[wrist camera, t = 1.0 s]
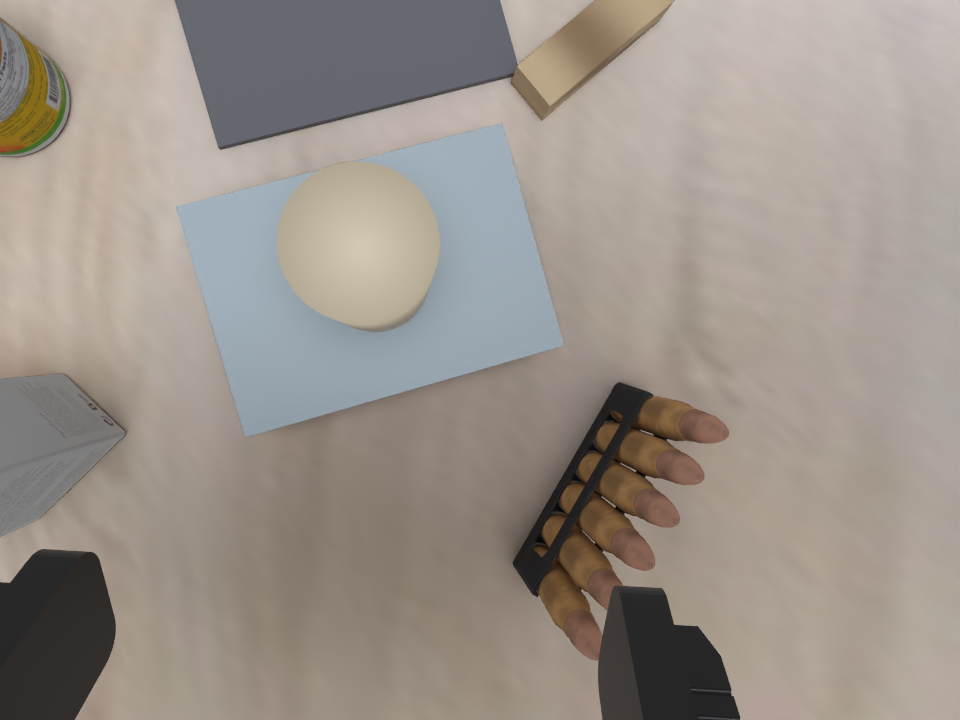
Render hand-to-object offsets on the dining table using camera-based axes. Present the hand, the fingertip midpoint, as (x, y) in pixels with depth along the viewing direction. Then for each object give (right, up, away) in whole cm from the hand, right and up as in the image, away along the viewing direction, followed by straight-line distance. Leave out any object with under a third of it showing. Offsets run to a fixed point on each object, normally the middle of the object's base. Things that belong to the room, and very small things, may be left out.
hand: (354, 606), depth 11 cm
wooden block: (+7, +19, +25) cm, 33 cm away
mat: (-5, +22, +24) cm, 33 cm away
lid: (-2, +7, +19) cm, 21 cm away
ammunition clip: (+7, -2, +26) cm, 27 cm away
